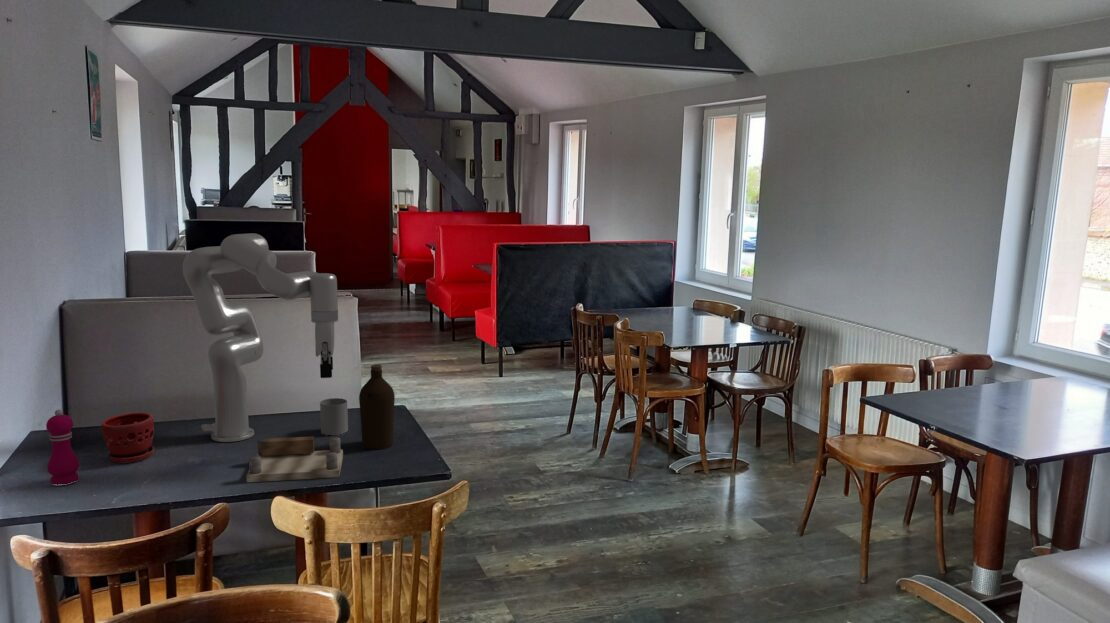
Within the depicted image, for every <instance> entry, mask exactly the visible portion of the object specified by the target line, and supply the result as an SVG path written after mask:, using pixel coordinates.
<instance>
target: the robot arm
mask: <svg viewBox="0 0 1110 623" xmlns="http://www.w3.org/2000/svg"><path fill="white" fill-rule="evenodd" d="M277 263H278V262H277V255H276V254H275V253H274V252H273V251H272V250H270V249H269V244H268V241H267V239H266V238H265V237H263V236H262V235H260V234H258V233H256V232H255V233H250V232H249V233H237V234H236V233H235V234H231V235H228V236H227V237H225V238H224V239H223V240H222V242H221V243H220V245H218V246H205V247H198V248H194V249H193V250H191V251H189V252H188V253H187V254H186V256H185V257H184V259H183V263H182V274H183V277H184V280H185V282H186V284H187V287H188V289H189V290H190V292H191V294H192V296H193V299H194V302H195V305H196V308H197V311H198V314H199V316H200V320H201V323H202V325H203V328H204V330H205V331H206V333H207V334H210V335H211V336H220V335H225V334H230V333H232V334H233V336H229V337H228V336H227V337H224V338H220V339H218V340H216V341H214V342H212V344H211V345H210V346H209V348H208V351H207V355H208V361H209V364H210V368H211V372H212V373H211V374H212V381H213V395H214V396H213V397H214V398H213V399H214V400H213V401H214V414H215V417H214V418H215V422H213V423H212V424H206V423H205V424H201V427H200V428H201V431H203V432H204V433H209V432H210V433H211V434H210V436H211V437H210V439H211V440H213V441H214V442H219V443H231V442H233V443H234V442H239V441H244V440H247V439H249V438H251V437H253V436H254V435H255V430H254V429H253V427H252V428H251V427H250V426H249V406H248V404H249V403H248V387H247V378H246V375H245V374H244V372H243V370H242V368H241V367H242V366H245V365H247V364H251V363H254V362H257V361H258V360H259V359H261V358H262V356H263V354H264V342H263V340H262V337H261V333H260V331H259V327H258V324H257V322H256V319H255V316H254V314H253V312H252V309H251V308H250V307H249V305H247V304H246V303H245V302H242V301H240V300H239V301H238V300H237V301H236V300H235V301H234V300H233V301H229V302H228V301H227V299H226V296H225V293H224V291H223V289H222V287H221V285H220V284H219V283H218V282H217V280H215V279H214V278H213V277H212V275H216V274H217V275H218V274H225V273H233V272H237V271H239V270H242V269H243V270H246V271H247V272H249V273H251V274H252V275H254V276H255V277H256V281H257V282H258V283H259V285H260V286H261V288H262V289H264V290H265V291H267V292H268V293H270V294H272V295H273V296H275V297H277V298H279V299H282V300H285V301H287V300H288V301H291V300H296V299H301V298H308V297H309V298H310V319H311V320H310V322H311V323H313V324H314V325H315V326H314V342H315V343H314V346H315V357H316V358H318V357H319V356H320V364H319V373H320V374H319V375H320V378H321V379H331V378H333V370H334V367H333V366H334V362H333V357H334V349H335V323H338V322H339V307H338V306H339V302H338V300H339V299H338V279H337V276H336V275H335V274H333V273H327V272H324V273H323V272H321V273H319V272H315V271H311V270H305V271H304V270H303V271H297V272H290V273H286V272H283V271H281V270H280V269H277V268H276V266H277Z"/></svg>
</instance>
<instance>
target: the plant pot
mask: <svg viewBox="0 0 1110 623" xmlns="http://www.w3.org/2000/svg"><path fill="white" fill-rule="evenodd" d="M154 424H155V423H154V416H153V415H152V414H150V413H147V412H130V413H129V412H128V413H123V414H119V415H115V416H111V417H108V418H106V419H105V420H103V421H102V422H101V433H102V437H103V441H104V443H105V447H107V449H108V451H109V452H110V453H109V455H108V458H109V459H110V460H111V461H112V462H113V463H114V462H115V463H117V464H118V463H121V464H123V463H124V464H129V463H133V462H134V463H137V462H139V461H143V460H146V459H147V458H149V457H151V456H152V455H153V454H154V452H155V446H152V445H153V444H152V443H153V440H154V434H155V426H154Z"/></svg>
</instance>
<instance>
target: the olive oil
mask: <svg viewBox="0 0 1110 623" xmlns="http://www.w3.org/2000/svg"><path fill="white" fill-rule="evenodd" d="M382 366H383V365H382V364H372V365H370V368H371V369H370V378H369V379H368V381H366V382H365V384H364V385H363V386H362V387H361V389H360V392H359V395H358V403H359V415H360V425H361V426H360V427H361V441H362V442H361V443H362V444H361V445H362V447H364V448H366V449H368V450H381V449H388V448H390V447H392V446H393V445H394V426H395V401H396V400H395V399H396V397H395V392H394V389H393V387H392V385H390V384H389V383H388V382H387V380H385V379H384V378H383V370H382Z"/></svg>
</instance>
